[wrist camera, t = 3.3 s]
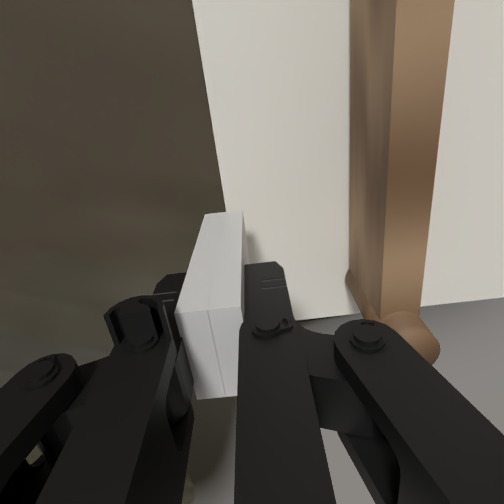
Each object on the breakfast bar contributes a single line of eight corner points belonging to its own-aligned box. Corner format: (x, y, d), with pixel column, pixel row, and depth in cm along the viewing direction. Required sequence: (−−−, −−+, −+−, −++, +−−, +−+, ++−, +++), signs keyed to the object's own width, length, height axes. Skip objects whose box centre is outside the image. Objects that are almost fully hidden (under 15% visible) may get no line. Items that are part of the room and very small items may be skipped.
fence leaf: (344, -46, 11) (418, -142, 6) (400, -54, 11) (518, -158, 6) (345, 294, 17) (384, 376, 12) (382, 290, 17) (436, 371, 12)
